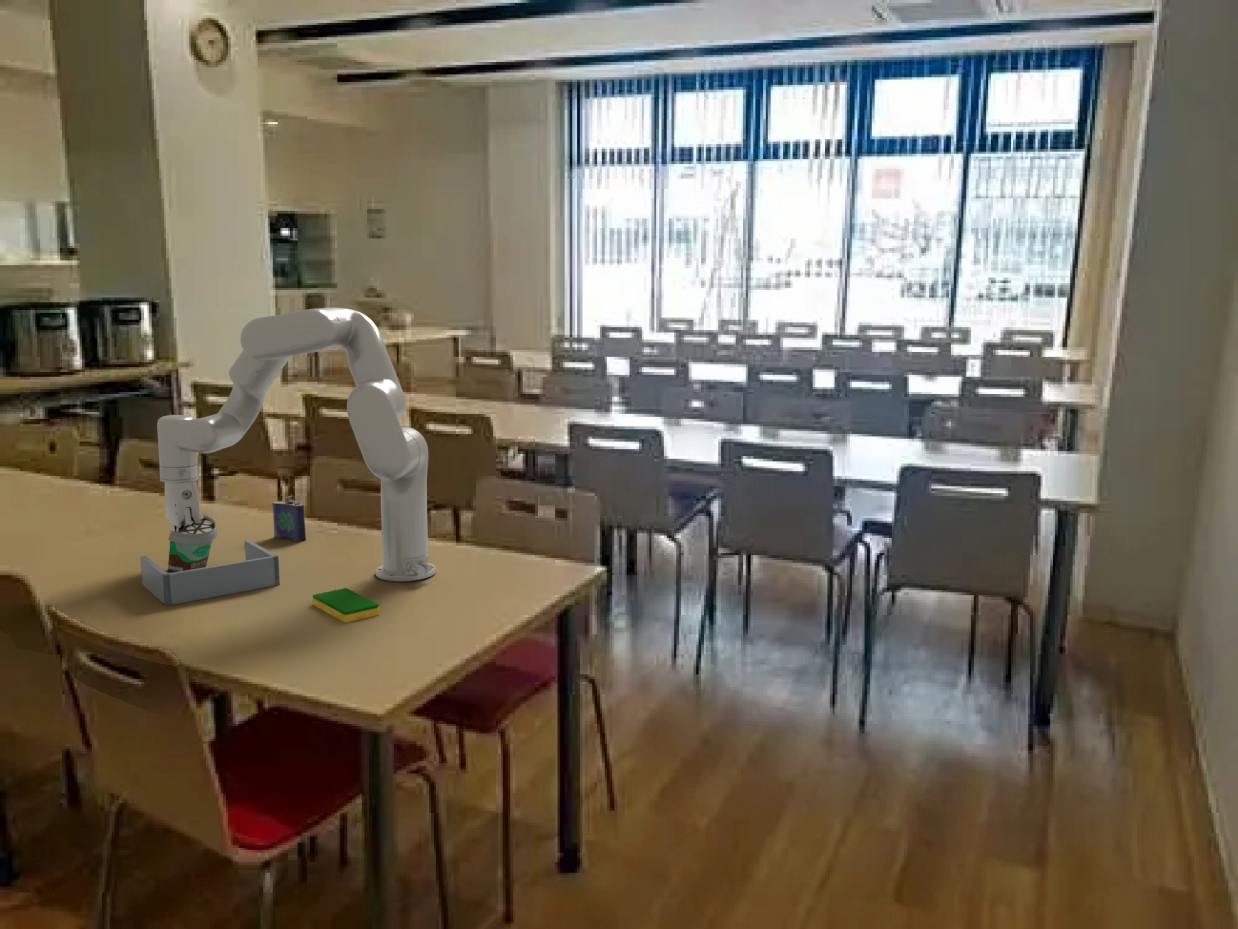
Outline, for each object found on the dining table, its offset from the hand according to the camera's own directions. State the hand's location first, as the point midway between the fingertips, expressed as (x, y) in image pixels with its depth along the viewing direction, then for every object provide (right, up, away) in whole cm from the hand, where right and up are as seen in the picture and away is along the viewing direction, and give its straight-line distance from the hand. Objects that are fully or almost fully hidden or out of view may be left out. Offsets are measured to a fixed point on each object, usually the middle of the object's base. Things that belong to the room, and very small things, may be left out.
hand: (183, 555), depth 210 cm
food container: (+3, -3, -3) cm, 5 cm away
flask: (+15, +1, +25) cm, 29 cm away
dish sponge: (+43, -8, -26) cm, 51 cm away
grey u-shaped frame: (+11, -5, -12) cm, 17 cm away
